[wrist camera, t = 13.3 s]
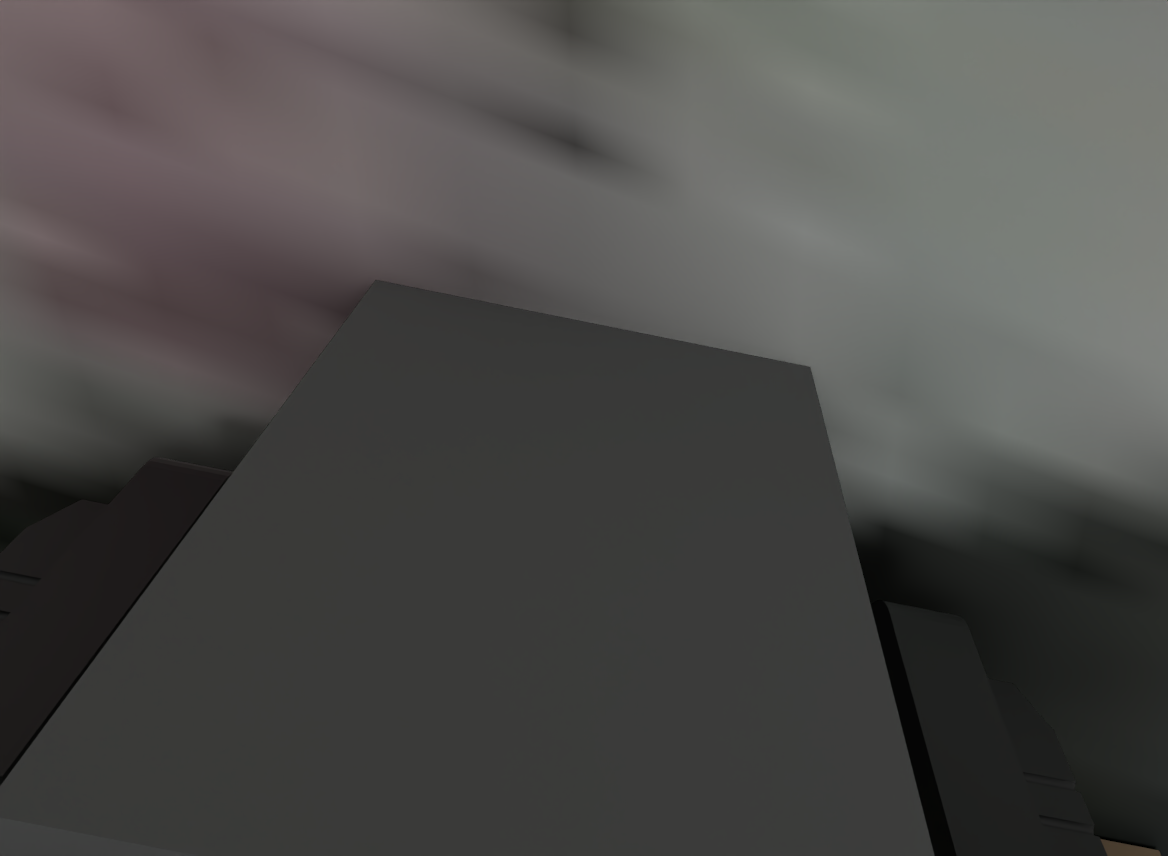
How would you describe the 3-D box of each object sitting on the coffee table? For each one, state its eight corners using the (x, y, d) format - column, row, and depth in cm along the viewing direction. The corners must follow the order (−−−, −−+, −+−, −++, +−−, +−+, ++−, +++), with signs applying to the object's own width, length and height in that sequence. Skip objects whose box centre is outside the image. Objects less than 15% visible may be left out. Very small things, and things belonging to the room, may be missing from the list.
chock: (342, 686, 12) (65, 1351, 6) (376, 278, 9) (-22, 814, 4) (686, 753, 12) (688, 1467, 7) (809, 365, 9) (970, 1003, 4)
